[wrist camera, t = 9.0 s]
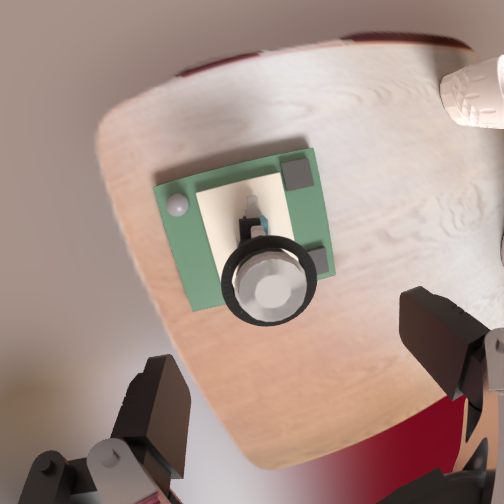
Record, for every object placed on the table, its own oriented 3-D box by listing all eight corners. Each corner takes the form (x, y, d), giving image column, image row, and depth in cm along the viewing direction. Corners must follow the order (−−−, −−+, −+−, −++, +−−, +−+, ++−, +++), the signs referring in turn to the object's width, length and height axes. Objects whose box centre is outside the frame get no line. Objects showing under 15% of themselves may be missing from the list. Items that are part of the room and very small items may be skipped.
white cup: (482, 126, 25) (540, 127, 15) (447, 135, 25) (512, 134, 15) (464, 69, 22) (520, 57, 13) (426, 70, 22) (487, 51, 13)
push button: (218, 196, 23) (214, 218, 13) (284, 193, 23) (324, 211, 14) (224, 274, 25) (225, 339, 15) (285, 269, 25) (320, 329, 16)
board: (309, 148, 24) (317, 146, 22) (331, 270, 28) (340, 279, 26) (156, 186, 24) (149, 188, 22) (193, 306, 28) (191, 318, 25)
